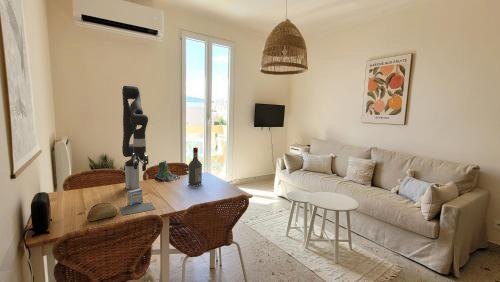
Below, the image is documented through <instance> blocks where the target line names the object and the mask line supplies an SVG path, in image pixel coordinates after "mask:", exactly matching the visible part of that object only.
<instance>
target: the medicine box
mask: <svg viewBox="0 0 500 282" xmlns="http://www.w3.org/2000/svg"><path fill="white" fill-rule="evenodd" d="M126 193H127V195H126V198H127V206H133V205H138V204H143V201H144V200H143V199H144V198H143V189H141V188H137V189H130V190H128V191H127V192H126Z"/></svg>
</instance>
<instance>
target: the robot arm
mask: <svg viewBox="0 0 500 282" xmlns="http://www.w3.org/2000/svg"><path fill="white" fill-rule="evenodd" d="M121 89H122V92H121V93H122V96H121V97H122V108H123V109H122V111H123V112H122V113H123V114H122V130H123V131H122V132H123V134H122V135H123V137H122V155H123V157H124V158H130V159H128V160H126V161H125V162H124V165H125V166H124V171H125V189H126V190H135V189H140V164H139V163H141V171H142V172H147V171H146V170H147V165H149V155H148V154H146V155H145V153H146V152H147V143H146V142H147V141H146V130H147V127H148V122H149V117H148V115H147V114H144V111H143V108H142V103H141V102H142V101H141V100H142V99H141V98H142V97H141V90H140V88H139V87H138V86H135V85H134V86H132V85H123V87H122V88H121ZM129 100H133V101H132V102H131V103H129ZM138 126H140V127H139V128H137V127H138ZM132 136H133V139H132V140H133V141H132V143H131V144H130V142H131V141H130V140H131V138H132Z"/></svg>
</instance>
